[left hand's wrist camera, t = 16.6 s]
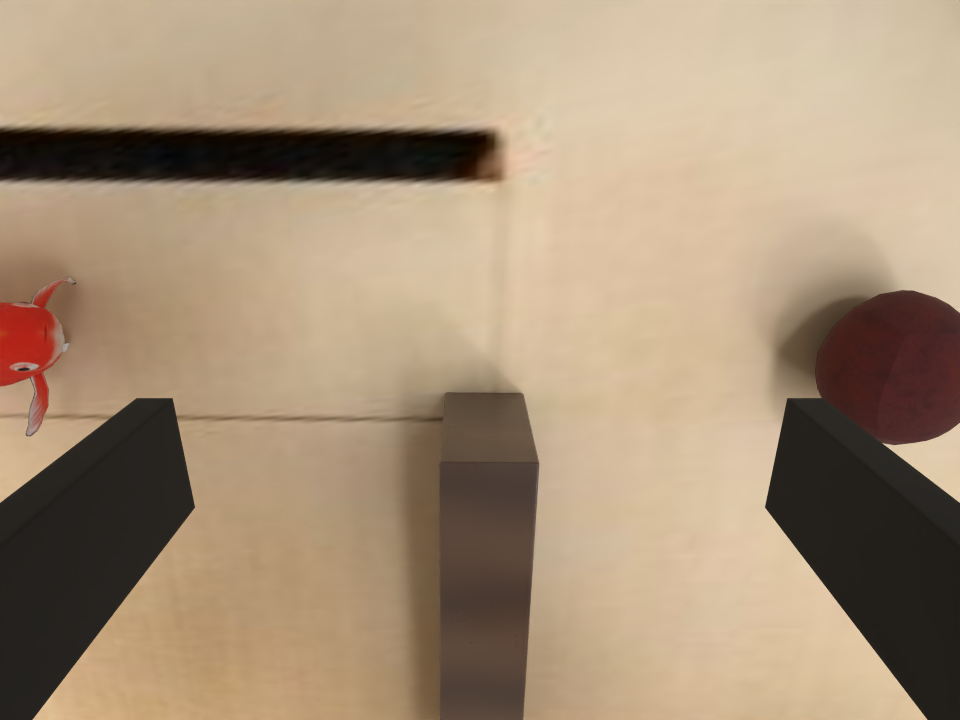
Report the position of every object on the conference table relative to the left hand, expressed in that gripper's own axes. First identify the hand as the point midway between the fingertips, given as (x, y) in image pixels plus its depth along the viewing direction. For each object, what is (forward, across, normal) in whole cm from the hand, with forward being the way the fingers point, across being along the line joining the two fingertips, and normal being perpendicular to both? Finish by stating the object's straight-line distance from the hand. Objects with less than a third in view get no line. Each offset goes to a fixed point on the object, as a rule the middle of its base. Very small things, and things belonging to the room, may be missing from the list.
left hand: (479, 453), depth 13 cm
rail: (+20, 0, -20) cm, 28 cm away
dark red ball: (+20, +21, -5) cm, 30 cm away
